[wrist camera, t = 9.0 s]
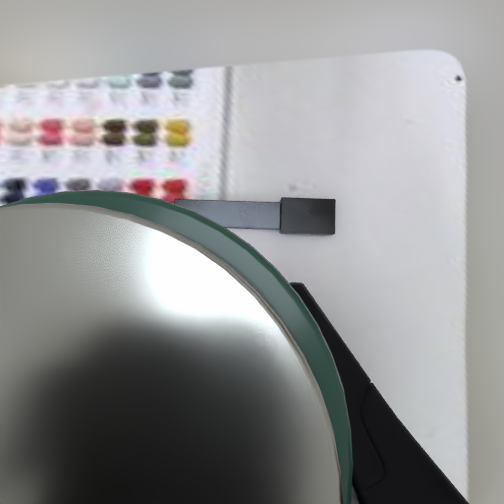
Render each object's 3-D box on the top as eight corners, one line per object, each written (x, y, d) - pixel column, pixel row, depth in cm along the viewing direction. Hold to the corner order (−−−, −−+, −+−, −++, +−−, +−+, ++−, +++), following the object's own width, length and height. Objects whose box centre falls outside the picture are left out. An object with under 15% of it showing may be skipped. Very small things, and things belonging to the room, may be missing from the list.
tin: (272, 361, 15) (384, 923, 2) (164, 358, 15) (-367, 895, 2) (273, 253, 15) (380, 173, 2) (168, 251, 15) (-269, 161, 3)
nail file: (332, 235, 21) (335, 234, 20) (174, 229, 21) (171, 228, 21) (332, 201, 21) (335, 198, 21) (176, 196, 22) (173, 193, 21)
